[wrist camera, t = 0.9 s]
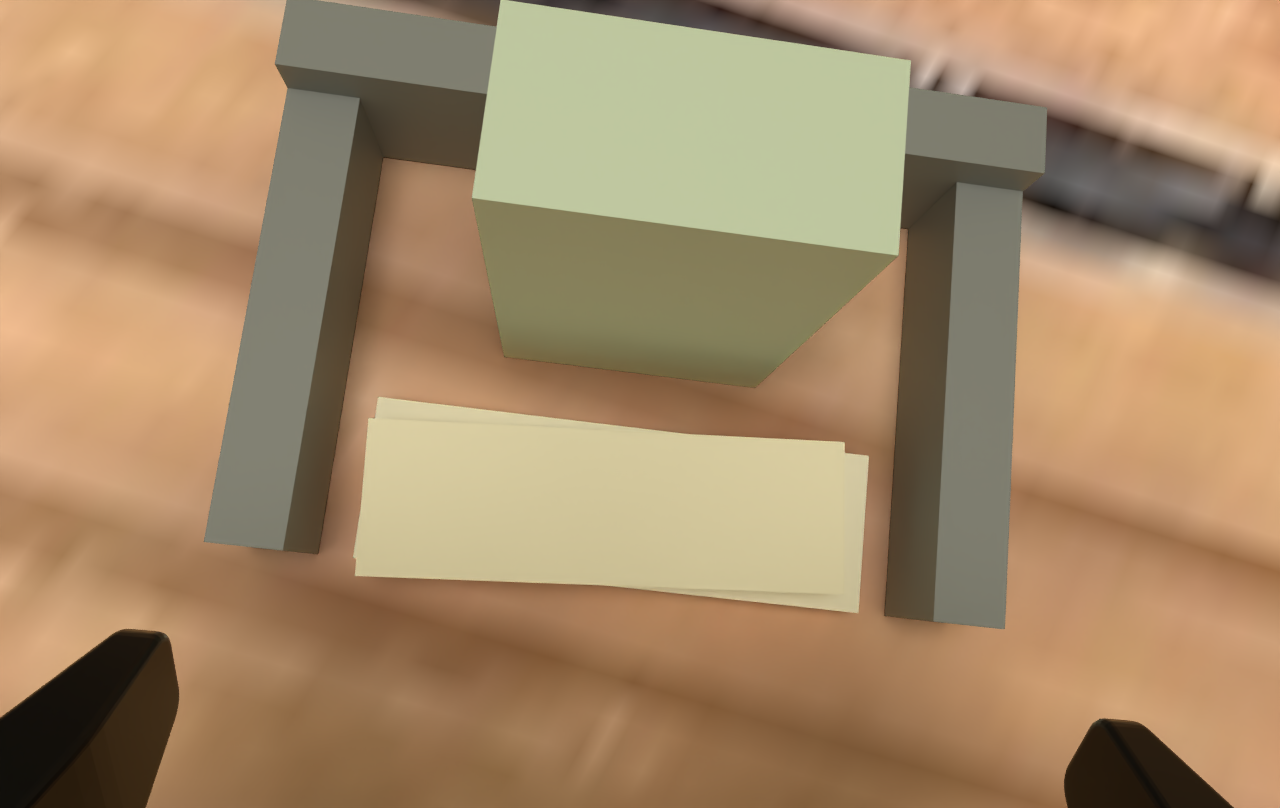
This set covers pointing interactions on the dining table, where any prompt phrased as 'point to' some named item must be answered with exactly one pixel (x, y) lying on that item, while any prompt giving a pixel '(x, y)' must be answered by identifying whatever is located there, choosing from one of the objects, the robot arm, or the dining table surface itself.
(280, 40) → the frame
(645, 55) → the green block
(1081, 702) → the dining table surface
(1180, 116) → the dining table surface
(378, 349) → the dining table surface
